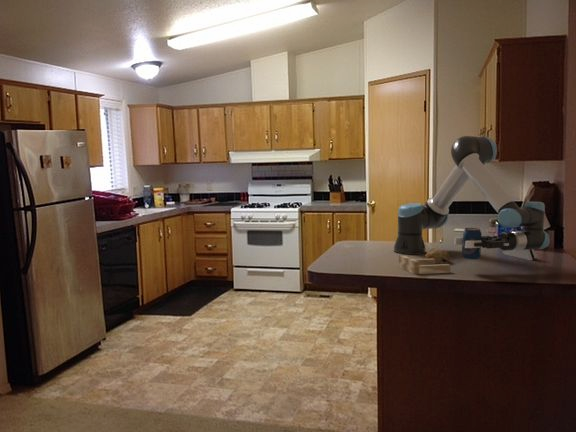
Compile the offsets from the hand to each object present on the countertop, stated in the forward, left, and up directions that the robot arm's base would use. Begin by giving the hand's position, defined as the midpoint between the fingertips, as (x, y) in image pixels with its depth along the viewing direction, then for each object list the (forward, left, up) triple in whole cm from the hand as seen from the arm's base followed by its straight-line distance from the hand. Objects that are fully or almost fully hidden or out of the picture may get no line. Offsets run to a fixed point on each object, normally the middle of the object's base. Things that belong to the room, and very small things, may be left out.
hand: (460, 242), depth 196 cm
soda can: (0, +5, -7) cm, 8 cm away
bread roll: (-24, +4, -13) cm, 27 cm away
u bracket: (-9, -10, -12) cm, 19 cm away
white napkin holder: (-25, +46, -13) cm, 54 cm away
